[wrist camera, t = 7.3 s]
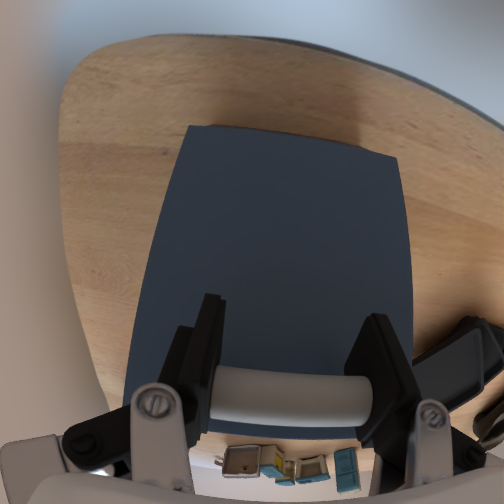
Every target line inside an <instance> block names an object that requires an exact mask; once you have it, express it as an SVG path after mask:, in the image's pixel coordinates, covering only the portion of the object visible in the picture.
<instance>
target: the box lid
mask: <svg viewBox="0 0 504 504" xmlns="http://www.w3.org/2000/svg"><path fill="white" fill-rule="evenodd" d="M205 293H210V294H217V295H221V299H223V300H226V309H225V320H224V330H223V341H222V352H221V360H220V365H217V366H216V368H215V372H214V377H213V382H212V388H211V396H210V405H209V416H210V419H209V425H208V430H207V431H210V432H217V433H224V434H231V435H240V436H249V437H260V438H274V439H297V440H335V439H357V438H356V432H355V426H361V425H363V424H365V423H366V421H367V420H368V418H369V416H370V413H371V409H372V404H373V391H372V386H371V383H370V381H369V379H368V378H367V377H365V376H345V375H344V365H345V362H346V360H347V358H348V356H349V354H350V352H351V350H352V347H353V345H354V343H355V341H356V339H357V336H358V334H359V332H360V330H361V327H362V325H363V323H364V320H365V318H366V317H367V316H370V315H371V314H372V313H380V314H386V315H387V316H388V318H389V320H390V322H391V324H392V326H393V329H394V331H395V333H396V335H397V337H398V340H399V342H400V344H401V346H402V349H403V351H404V353H405V356H406V358H407V360H408V363H409V365H410V367H411V370H412V354H413V284H412V266H411V253H410V243H409V233H408V224H407V217H406V209H405V203H404V196H403V190H402V184H401V179H400V173H399V168H398V163H397V158H395V157H391V156H388V155H384V154H380V153H376V152H372V151H367V150H363V149H359V148H354V147H350V146H345V145H340V144H335V143H330V142H325V141H320V140H314V139H308V138H302V137H296V136H290V135H283V134H276V133H269V132H261V131H252V130H243V129H233V128H222V127H209V126H192V125H189V126H188V129H187V132H186V135H185V137H184V140H183V143H182V146H181V149H180V152H179V155H178V158H177V161H176V164H175V167H174V170H173V173H172V176H171V179H170V182H169V185H168V189H167V192H166V195H165V199H164V202H163V205H162V209H161V212H160V216H159V219H158V223H157V227H156V230H155V234H154V238H153V242H152V246H151V250H150V254H149V258H148V262H147V266H146V270H145V275H144V279H143V283H142V288H141V293H140V297H139V302H138V307H137V312H136V317H135V323H134V328H133V334H132V340H131V346H130V352H129V358H128V365H127V372H126V380H125V387H124V396H123V405H122V407H124V406H126V405H128V404H131V399H132V395H133V394H134V392H135V391H136V390H137V389H138V388H139V387H140V386H142V385H145V384H147V383H154V382H156V383H157V381H158V378H159V375H160V373H161V370H162V367H163V365H164V362H165V359H166V356H167V354H168V351H169V348H170V346H171V343H172V340H173V338H174V335H175V333H176V330H177V328H178V326H179V325H182V326H188V327H194V326H195V323H196V320H197V317H198V314H199V311H200V308H201V305H202V302H203V299H204V296H205Z"/></svg>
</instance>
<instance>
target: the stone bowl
mask: <svg viewBox="0 0 504 504" xmlns="http://www.w3.org/2000/svg"><path fill="white" fill-rule="evenodd" d="M473 432H474V434H475V435H476V436H477V437H478V438H479V440H478V441H477V442H478V443H479V444H481V445H482V447H483V448H484V450H485V452H486V451H487V450H491V449H492V448H494V447H496V446H497V445H498V444H500V443H501V442H502V441H503V440H504V400H503V401H502V402H501V403H500V404H499V405H498V406H496V408H495V409H493V410H492V411H491V412H490V413H486V414H483V413H481V414H480V415H478V416H477V417H476V418H475V419H474V423H473Z"/></svg>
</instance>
